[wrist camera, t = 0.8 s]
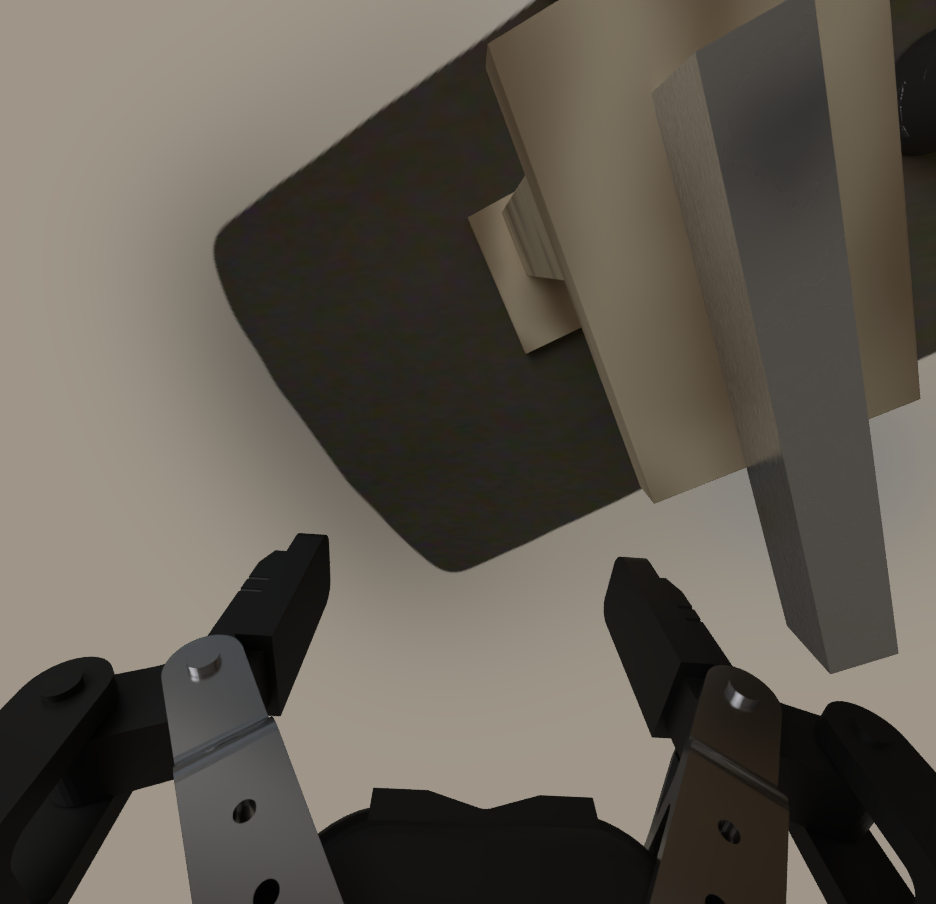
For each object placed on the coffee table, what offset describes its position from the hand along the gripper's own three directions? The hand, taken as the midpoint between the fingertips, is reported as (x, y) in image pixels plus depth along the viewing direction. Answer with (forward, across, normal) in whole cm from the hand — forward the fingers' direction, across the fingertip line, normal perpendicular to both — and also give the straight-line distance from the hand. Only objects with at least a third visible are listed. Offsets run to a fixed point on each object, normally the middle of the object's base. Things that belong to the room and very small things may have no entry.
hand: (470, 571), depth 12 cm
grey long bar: (+5, -11, -4) cm, 13 cm away
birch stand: (+37, -8, -9) cm, 39 cm away
